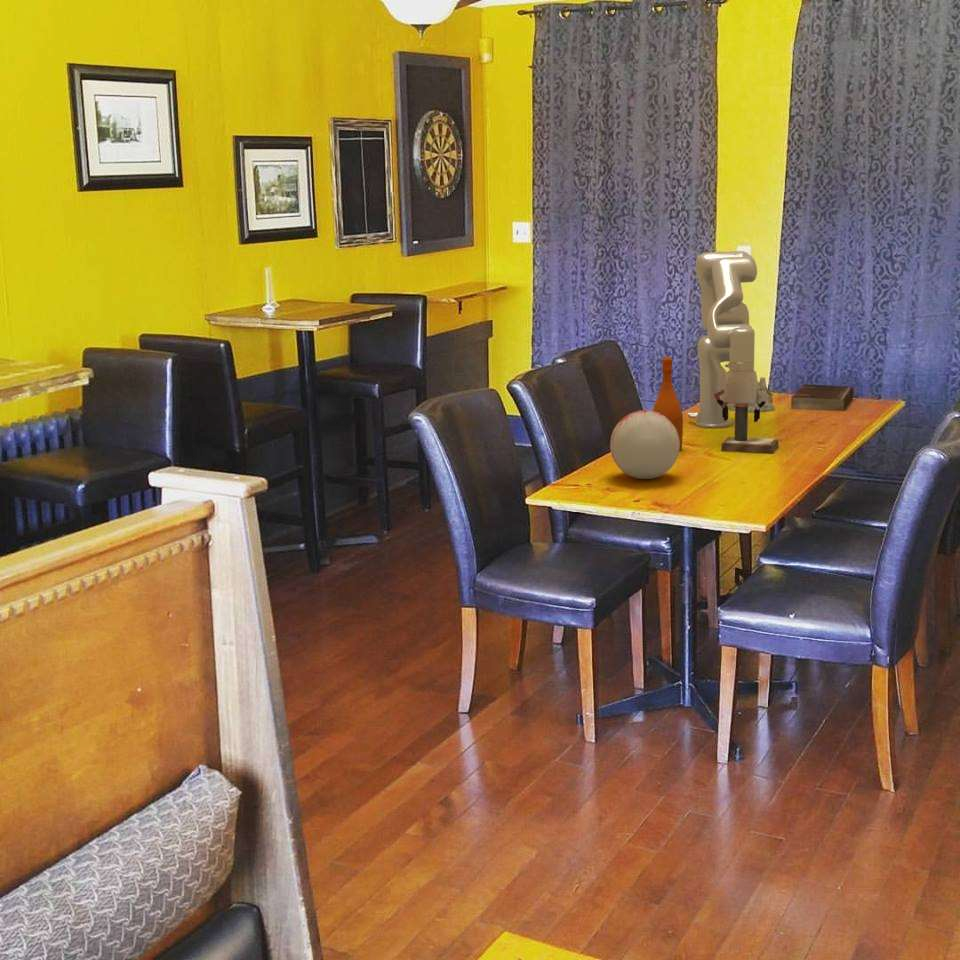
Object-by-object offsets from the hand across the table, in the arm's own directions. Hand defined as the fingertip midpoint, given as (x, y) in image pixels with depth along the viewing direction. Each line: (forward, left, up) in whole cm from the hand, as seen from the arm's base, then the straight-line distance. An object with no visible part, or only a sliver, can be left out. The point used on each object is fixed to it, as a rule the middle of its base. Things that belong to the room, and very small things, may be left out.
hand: (741, 420), depth 390 cm
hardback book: (+13, +86, -10) cm, 87 cm away
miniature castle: (-11, +68, -9) cm, 70 cm away
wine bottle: (-22, -7, -9) cm, 25 cm away
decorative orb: (-18, -46, -9) cm, 51 cm away
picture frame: (+3, 0, -9) cm, 10 cm away
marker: (0, 0, -6) cm, 6 cm away
